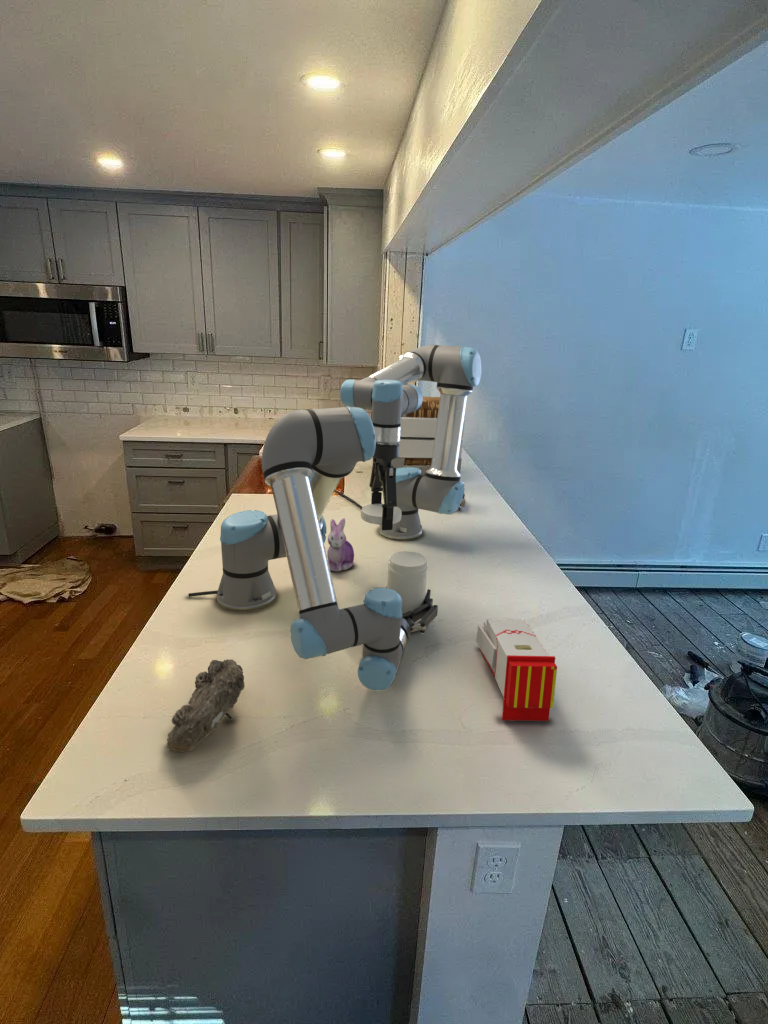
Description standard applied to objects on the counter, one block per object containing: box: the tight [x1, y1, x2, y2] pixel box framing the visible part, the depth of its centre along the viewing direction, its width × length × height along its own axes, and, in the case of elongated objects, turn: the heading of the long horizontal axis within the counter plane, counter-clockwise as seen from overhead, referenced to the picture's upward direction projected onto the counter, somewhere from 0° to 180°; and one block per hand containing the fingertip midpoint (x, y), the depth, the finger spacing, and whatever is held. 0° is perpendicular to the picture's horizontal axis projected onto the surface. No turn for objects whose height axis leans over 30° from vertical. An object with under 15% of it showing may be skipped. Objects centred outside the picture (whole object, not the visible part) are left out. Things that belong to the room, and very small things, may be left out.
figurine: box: [326, 517, 355, 572], centre depth 171 cm, size 9×10×15 cm
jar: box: [386, 550, 428, 633], centre depth 141 cm, size 10×10×18 cm
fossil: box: [166, 658, 245, 754], centre depth 106 cm, size 22×10×15 cm
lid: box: [360, 503, 402, 526], centre depth 152 cm, size 11×11×2 cm
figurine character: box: [457, 493, 466, 511], centre depth 229 cm, size 7×8×15 cm
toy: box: [475, 618, 558, 722], centre depth 122 cm, size 12×13×30 cm
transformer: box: [392, 396, 465, 475], centre depth 268 cm, size 34×33×41 cm
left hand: (408, 591), depth 146 cm, fingers closed on jar, 10 cm apart
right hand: (381, 522), depth 153 cm, fingers closed on lid, 11 cm apart
